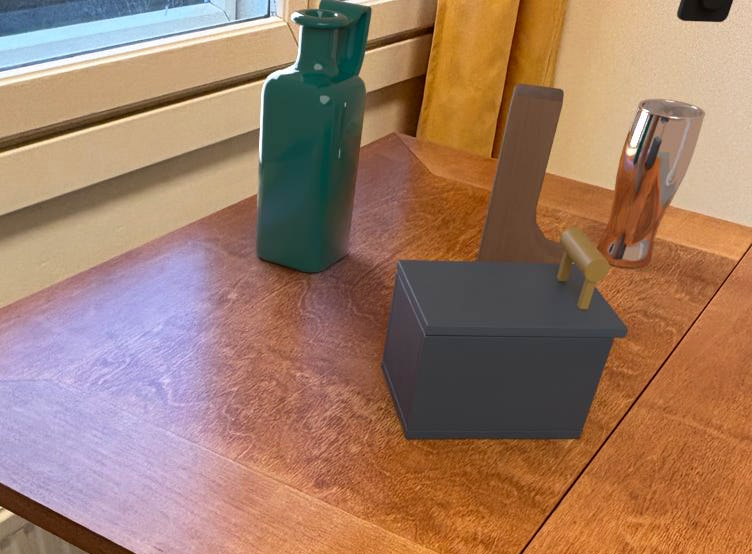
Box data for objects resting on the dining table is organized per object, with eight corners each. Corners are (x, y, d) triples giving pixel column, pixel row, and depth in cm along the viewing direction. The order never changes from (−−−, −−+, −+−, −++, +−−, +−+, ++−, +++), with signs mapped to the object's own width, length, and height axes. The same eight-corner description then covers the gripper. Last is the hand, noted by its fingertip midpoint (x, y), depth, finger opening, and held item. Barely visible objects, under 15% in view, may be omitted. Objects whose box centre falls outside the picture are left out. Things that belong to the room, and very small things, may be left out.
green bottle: (316, 278, 92) (339, 25, 76) (247, 257, 95) (256, 8, 79) (359, 248, 98) (389, 8, 83) (294, 229, 101) (311, -7, 85)
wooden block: (559, 289, 94) (615, 94, 81) (557, 307, 90) (615, 107, 78) (473, 275, 95) (515, 81, 82) (469, 292, 92) (512, 94, 79)
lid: (575, 272, 75) (593, 213, 72) (625, 338, 67) (648, 275, 64) (396, 268, 73) (405, 208, 70) (425, 335, 65) (437, 270, 62)
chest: (537, 368, 81) (565, 272, 75) (579, 439, 73) (615, 338, 67) (380, 367, 80) (396, 269, 73) (405, 439, 72) (425, 336, 65)
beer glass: (627, 275, 97) (680, 122, 86) (578, 252, 101) (622, 102, 90) (666, 262, 100) (721, 113, 90) (617, 240, 104) (664, 94, 93)
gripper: (948, -388, 42) (784, 36, 55) (770, -363, 54) (668, -20, 67) (802, -401, 42) (669, 32, 54) (654, -373, 54) (572, -23, 66)
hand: (668, 3), depth 60 cm, fingers open, 9 cm apart
